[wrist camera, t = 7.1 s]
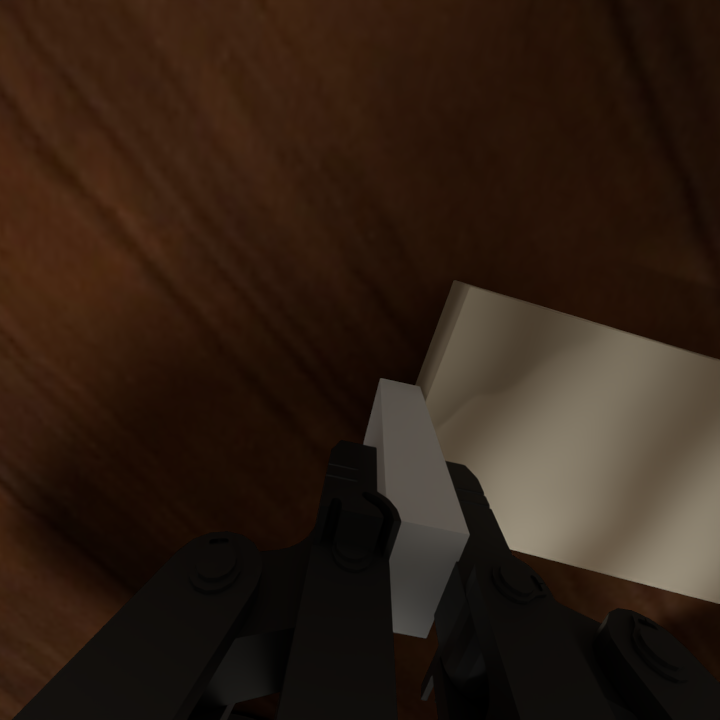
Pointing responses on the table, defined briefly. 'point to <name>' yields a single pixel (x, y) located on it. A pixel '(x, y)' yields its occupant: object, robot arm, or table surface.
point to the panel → (582, 438)
